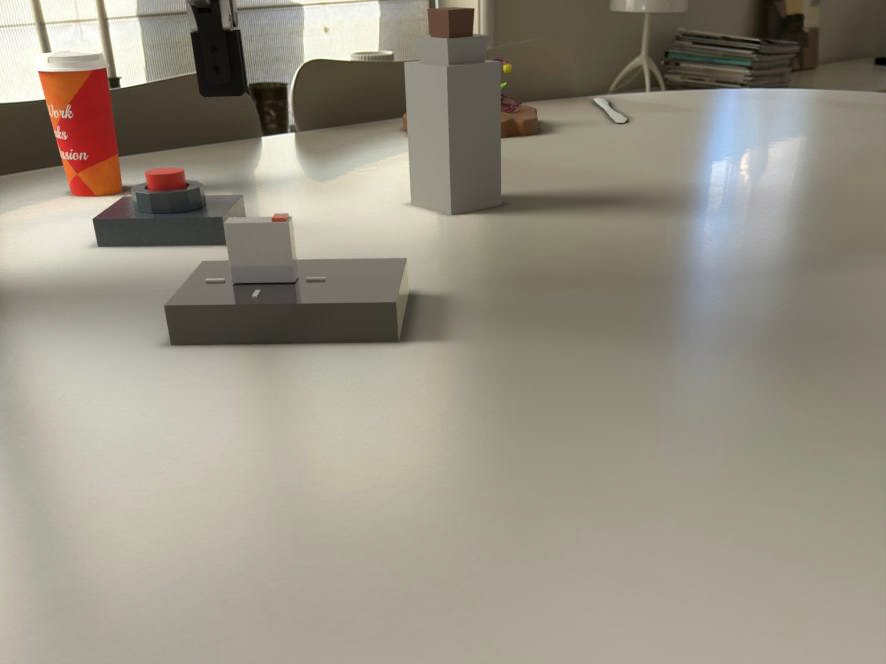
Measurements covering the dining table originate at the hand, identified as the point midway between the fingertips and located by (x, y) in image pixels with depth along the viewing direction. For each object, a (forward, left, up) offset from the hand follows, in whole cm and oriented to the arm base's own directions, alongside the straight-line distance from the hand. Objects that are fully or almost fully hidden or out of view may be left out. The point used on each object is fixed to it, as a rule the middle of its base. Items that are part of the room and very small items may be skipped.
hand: (224, 94), depth 76 cm
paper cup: (-26, +44, -15) cm, 53 cm away
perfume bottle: (+15, +34, -15) cm, 40 cm away
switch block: (-12, +23, -15) cm, 29 cm away
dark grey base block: (+4, -5, -15) cm, 16 cm away
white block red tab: (+2, -5, -12) cm, 13 cm away
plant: (+16, +87, -15) cm, 89 cm away
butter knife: (+38, +102, -15) cm, 110 cm away
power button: (-12, +23, -11) cm, 27 cm away
